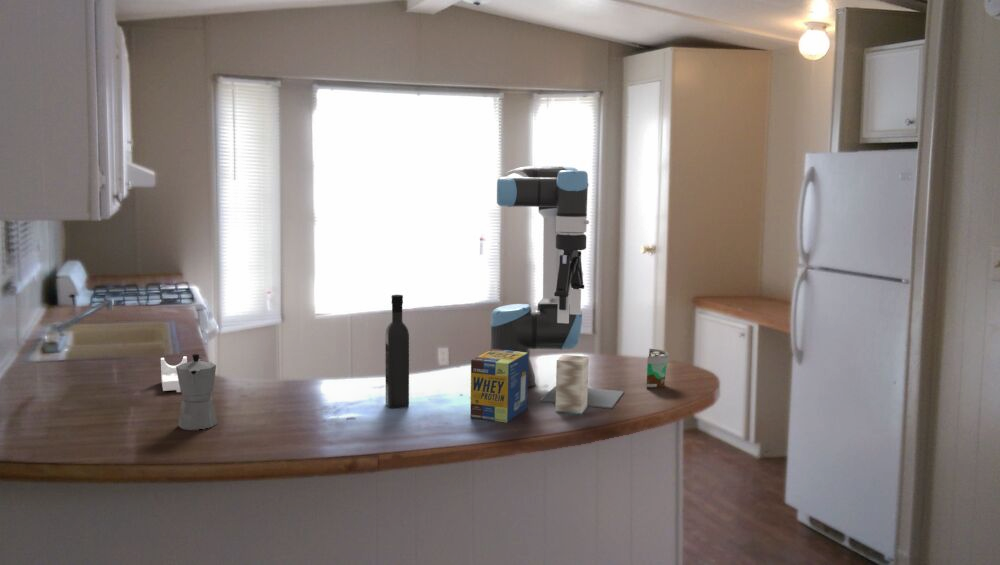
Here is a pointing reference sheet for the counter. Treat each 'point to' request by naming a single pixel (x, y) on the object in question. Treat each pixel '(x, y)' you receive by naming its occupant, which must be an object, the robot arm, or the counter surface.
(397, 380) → the wine bottle
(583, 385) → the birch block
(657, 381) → the food container
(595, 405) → the mat
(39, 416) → the counter surface
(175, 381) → the bracket
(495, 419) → the protein box
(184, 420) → the coffeepot
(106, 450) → the counter surface
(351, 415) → the counter surface
